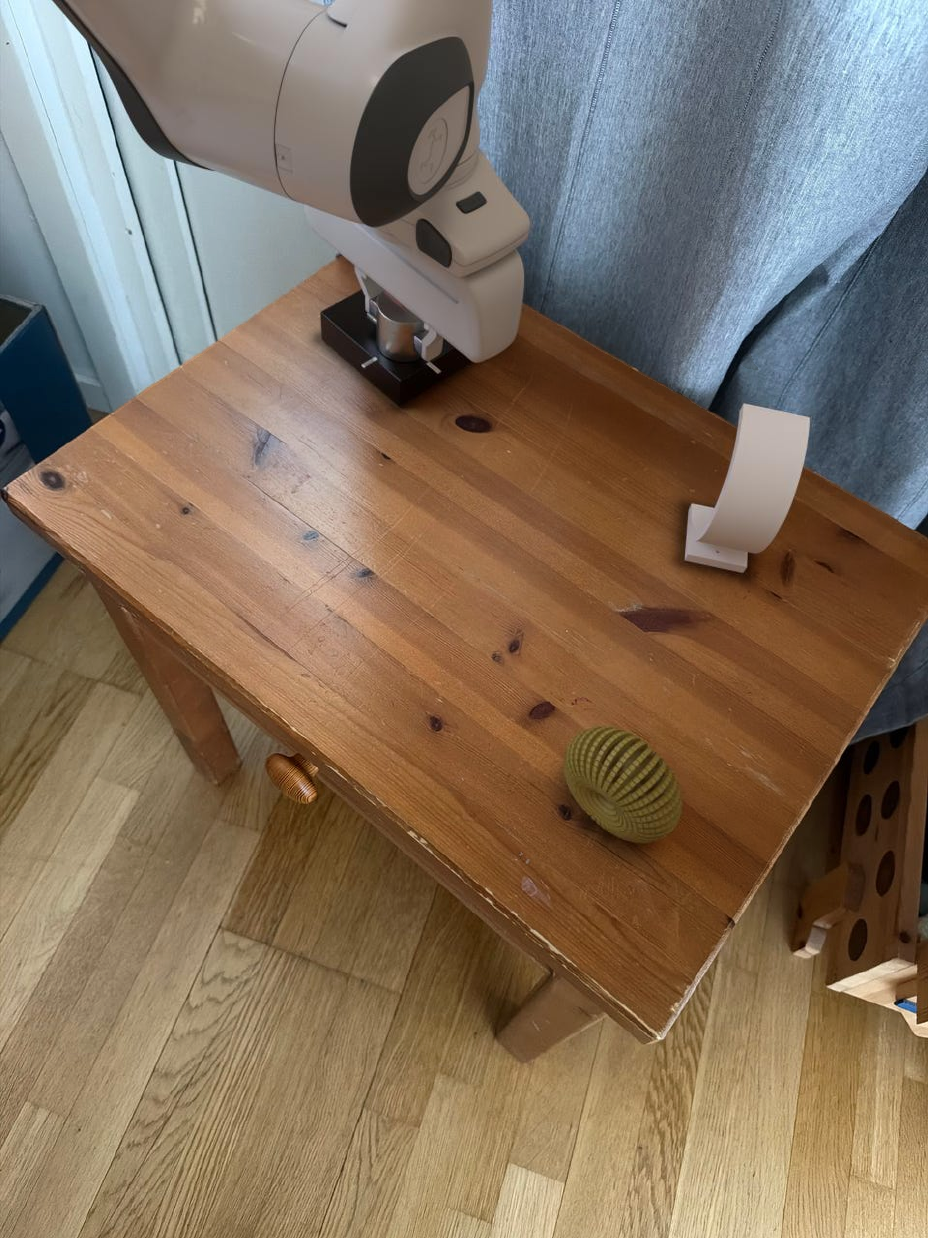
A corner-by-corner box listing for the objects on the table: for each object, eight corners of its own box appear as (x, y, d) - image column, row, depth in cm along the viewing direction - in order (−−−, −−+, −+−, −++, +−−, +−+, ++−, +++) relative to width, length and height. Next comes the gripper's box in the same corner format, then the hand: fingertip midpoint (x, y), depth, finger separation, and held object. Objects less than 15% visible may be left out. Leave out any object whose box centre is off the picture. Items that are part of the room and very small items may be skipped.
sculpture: (540, 783, 59) (563, 736, 52) (580, 743, 60) (607, 692, 53) (634, 871, 56) (671, 834, 49) (672, 827, 58) (714, 786, 51)
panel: (398, 424, 73) (399, 397, 70) (309, 346, 76) (307, 316, 73) (512, 351, 78) (517, 322, 75) (424, 280, 81) (426, 251, 79)
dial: (441, 346, 73) (445, 304, 69) (400, 370, 71) (402, 328, 68) (405, 316, 75) (407, 273, 71) (365, 339, 73) (365, 296, 69)
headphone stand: (745, 521, 71) (810, 417, 61) (742, 584, 68) (810, 485, 58) (688, 509, 71) (743, 402, 61) (683, 571, 68) (740, 470, 58)
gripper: (275, 114, 62) (290, 280, 74) (480, 272, 56) (461, 425, 68) (346, 85, 65) (349, 249, 77) (549, 233, 58) (519, 387, 70)
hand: (403, 333), depth 72 cm, fingers closed on dial, 4 cm apart
